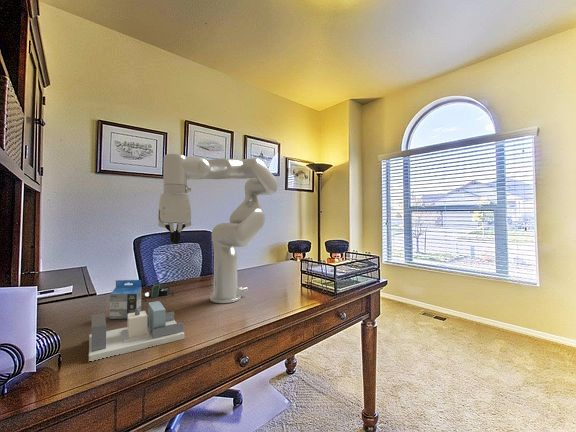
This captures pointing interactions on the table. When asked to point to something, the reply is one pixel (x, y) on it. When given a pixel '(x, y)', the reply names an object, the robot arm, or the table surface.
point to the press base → (129, 343)
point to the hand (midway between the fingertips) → (175, 243)
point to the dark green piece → (160, 290)
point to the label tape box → (125, 299)
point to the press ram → (156, 315)
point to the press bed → (100, 332)
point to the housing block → (137, 323)
